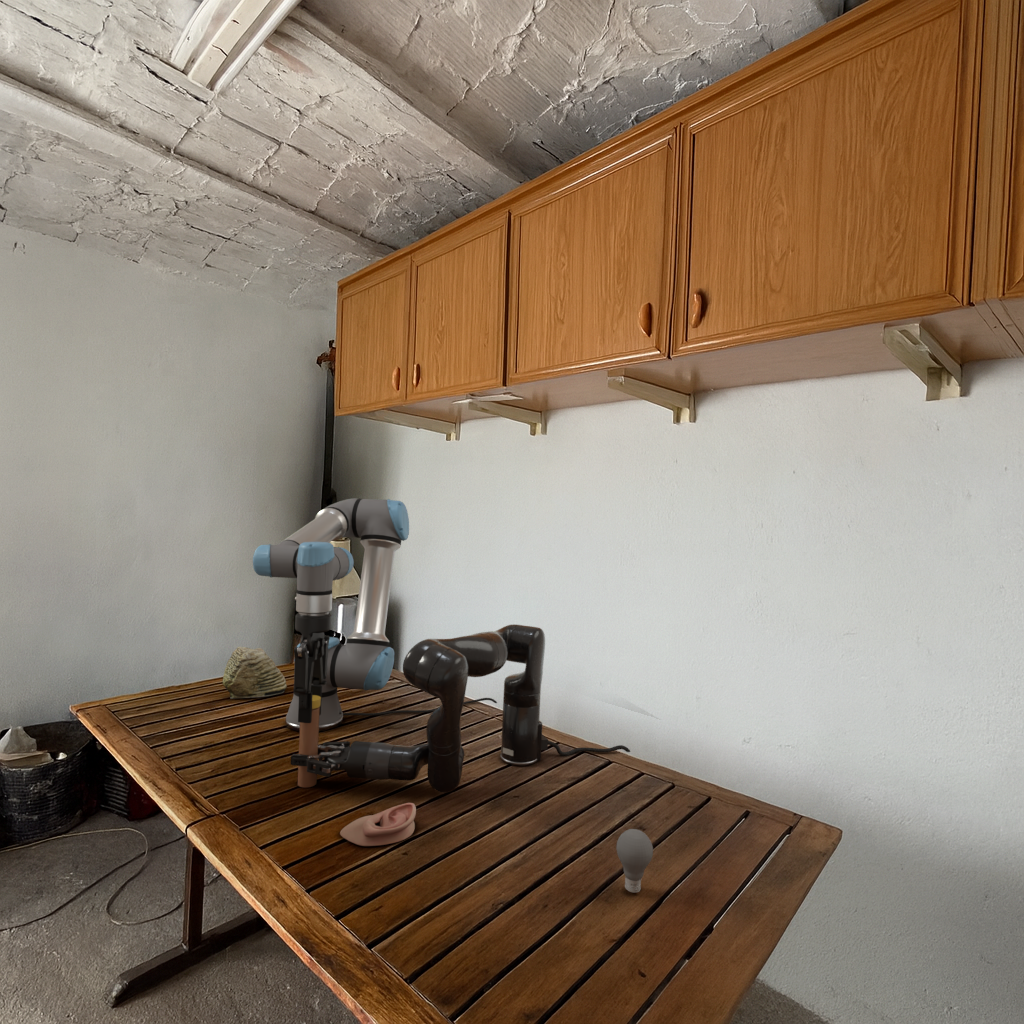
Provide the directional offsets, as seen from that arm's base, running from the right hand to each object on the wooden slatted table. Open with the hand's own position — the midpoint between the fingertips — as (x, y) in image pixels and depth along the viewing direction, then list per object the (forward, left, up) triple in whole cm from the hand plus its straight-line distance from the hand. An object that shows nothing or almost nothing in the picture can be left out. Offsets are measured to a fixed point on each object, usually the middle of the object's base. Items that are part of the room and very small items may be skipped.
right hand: (296, 755), depth 140 cm
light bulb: (-51, +57, -6) cm, 76 cm away
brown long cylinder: (-2, +1, -6) cm, 7 cm away
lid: (-2, +1, +12) cm, 13 cm away
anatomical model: (-14, +26, -6) cm, 30 cm away
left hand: (-2, +1, +8) cm, 9 cm away
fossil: (+9, -66, -6) cm, 67 cm away
